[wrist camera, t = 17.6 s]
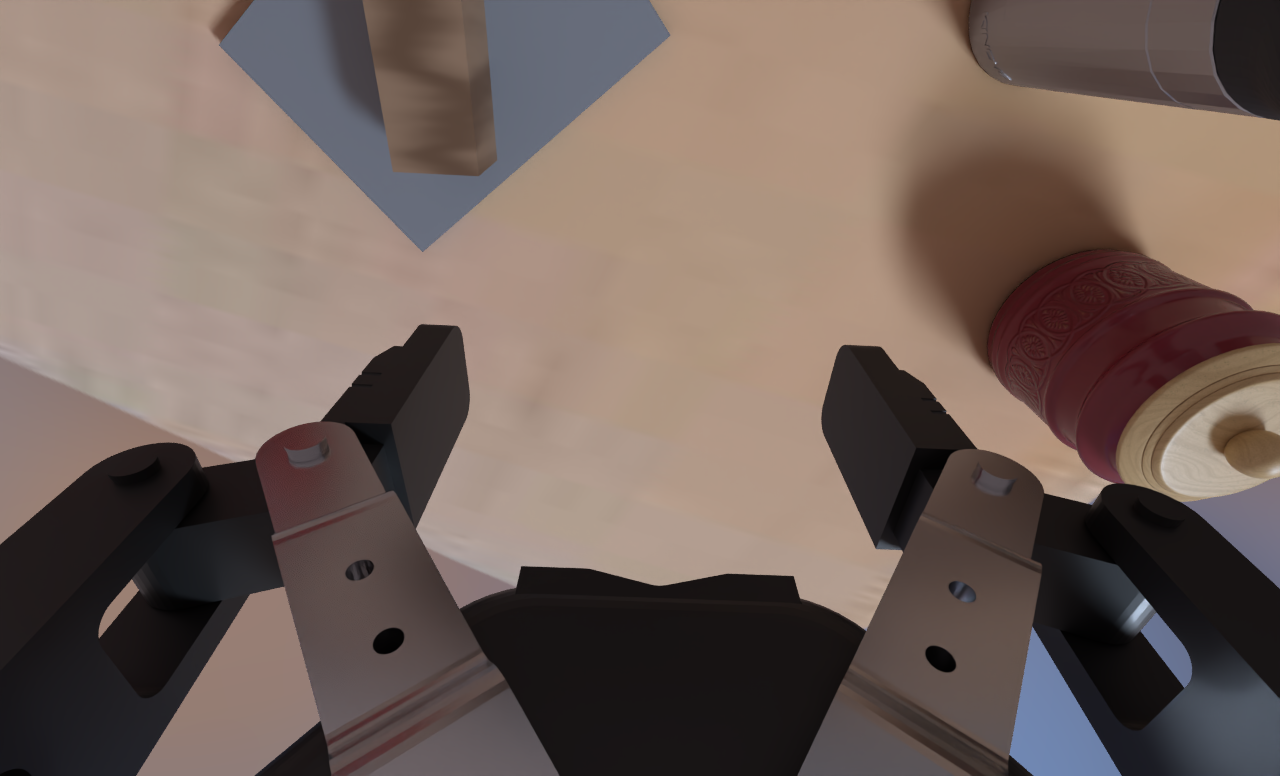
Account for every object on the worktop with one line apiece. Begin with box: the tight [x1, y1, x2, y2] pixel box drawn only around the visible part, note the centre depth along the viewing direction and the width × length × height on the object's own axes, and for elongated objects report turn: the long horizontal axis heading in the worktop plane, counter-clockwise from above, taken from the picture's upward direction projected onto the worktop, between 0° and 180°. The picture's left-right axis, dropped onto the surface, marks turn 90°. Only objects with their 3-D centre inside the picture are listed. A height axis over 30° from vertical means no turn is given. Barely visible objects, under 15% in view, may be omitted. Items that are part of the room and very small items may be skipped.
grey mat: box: [219, 0, 670, 252], centre depth 34 cm, size 22×16×1 cm
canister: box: [987, 249, 1280, 502], centre depth 37 cm, size 13×13×18 cm
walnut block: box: [362, 0, 497, 176], centre depth 32 cm, size 5×5×12 cm
